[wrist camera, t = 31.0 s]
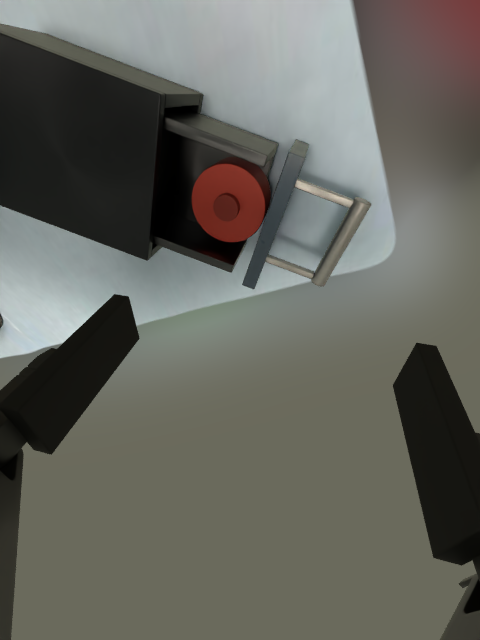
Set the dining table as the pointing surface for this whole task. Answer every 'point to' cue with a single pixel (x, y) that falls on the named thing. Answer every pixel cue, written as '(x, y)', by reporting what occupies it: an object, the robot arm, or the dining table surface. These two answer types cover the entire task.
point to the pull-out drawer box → (227, 141)
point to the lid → (231, 199)
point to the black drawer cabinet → (82, 138)
